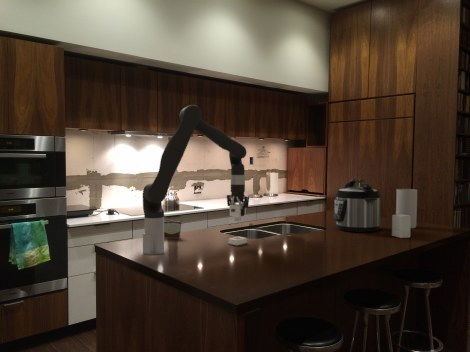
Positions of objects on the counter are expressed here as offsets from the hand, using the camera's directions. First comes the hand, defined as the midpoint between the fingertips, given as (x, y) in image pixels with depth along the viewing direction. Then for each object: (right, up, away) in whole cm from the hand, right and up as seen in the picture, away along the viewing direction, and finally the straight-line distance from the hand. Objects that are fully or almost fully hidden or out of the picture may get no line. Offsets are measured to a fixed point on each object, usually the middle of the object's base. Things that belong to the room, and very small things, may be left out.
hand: (237, 215), depth 206 cm
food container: (-37, -15, +18) cm, 44 cm away
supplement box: (+96, -15, +22) cm, 100 cm away
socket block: (0, -15, +1) cm, 15 cm away
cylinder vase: (+113, -14, +54) cm, 126 cm away
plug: (0, -3, 0) cm, 3 cm away
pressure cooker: (+77, -14, +44) cm, 89 cm away
